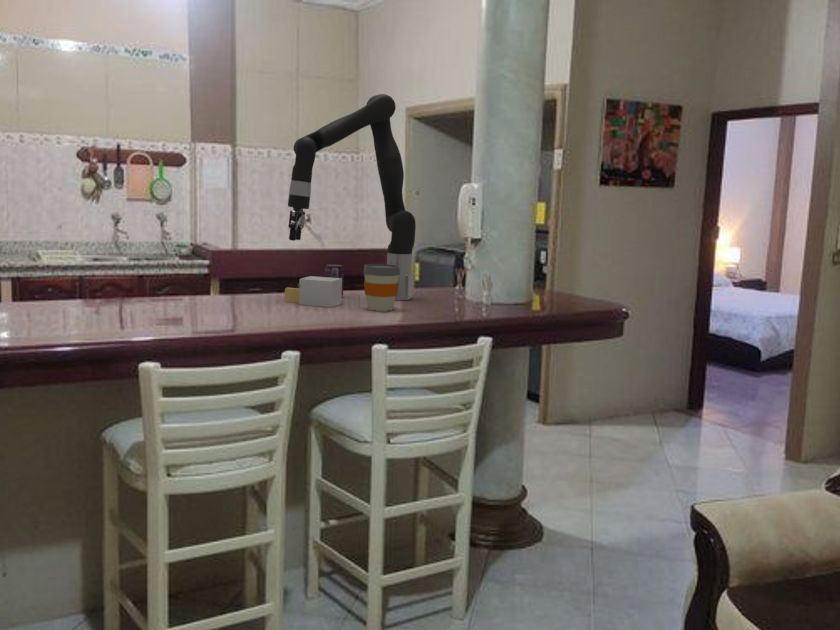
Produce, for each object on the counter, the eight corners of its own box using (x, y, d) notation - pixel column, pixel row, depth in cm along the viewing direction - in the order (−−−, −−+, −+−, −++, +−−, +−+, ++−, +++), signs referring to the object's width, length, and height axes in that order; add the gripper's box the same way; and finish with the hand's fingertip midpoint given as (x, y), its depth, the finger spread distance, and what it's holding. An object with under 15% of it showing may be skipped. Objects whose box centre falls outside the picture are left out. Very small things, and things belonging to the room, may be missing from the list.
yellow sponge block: (313, 303, 279) (313, 289, 279) (311, 304, 278) (311, 290, 277) (287, 301, 282) (287, 287, 281) (284, 302, 280) (285, 288, 279)
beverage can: (346, 297, 298) (347, 265, 296) (335, 298, 292) (335, 266, 290) (332, 295, 301) (332, 263, 299) (320, 296, 295) (320, 264, 293)
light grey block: (341, 303, 281) (342, 278, 280) (331, 307, 272) (332, 281, 270) (308, 300, 284) (308, 276, 283) (297, 304, 275) (297, 278, 273)
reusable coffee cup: (398, 312, 267) (399, 268, 264) (361, 311, 267) (362, 266, 264) (398, 307, 279) (400, 264, 277) (363, 305, 279) (364, 263, 277)
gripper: (306, 195, 273) (300, 242, 275) (313, 196, 287) (308, 241, 289) (284, 192, 273) (279, 239, 275) (293, 193, 287) (288, 238, 289)
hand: (294, 240), depth 282 cm, fingers open, 8 cm apart
